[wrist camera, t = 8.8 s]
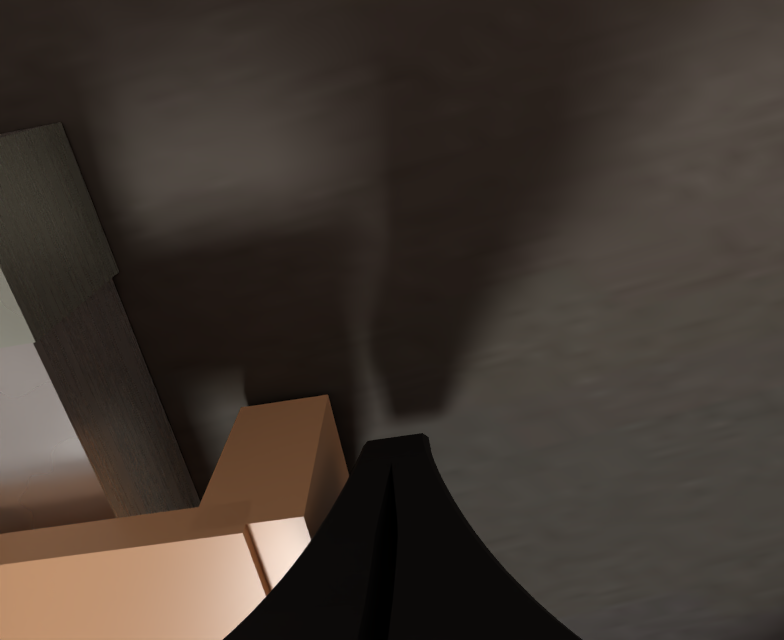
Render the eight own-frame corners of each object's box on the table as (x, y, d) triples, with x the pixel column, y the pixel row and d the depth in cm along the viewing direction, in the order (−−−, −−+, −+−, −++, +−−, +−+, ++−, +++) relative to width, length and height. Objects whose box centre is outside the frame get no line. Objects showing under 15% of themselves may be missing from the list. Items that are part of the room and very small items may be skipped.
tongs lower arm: (286, 704, 18) (266, 829, 16) (197, 713, 19) (160, 838, 16) (61, 122, 11) (-55, 152, 9) (-78, 149, 12) (-236, 187, 9)
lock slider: (355, 499, 15) (341, 649, 11) (37, 541, 16) (-74, 696, 12) (327, 394, 14) (302, 524, 10) (-17, 445, 14) (-157, 585, 11)
